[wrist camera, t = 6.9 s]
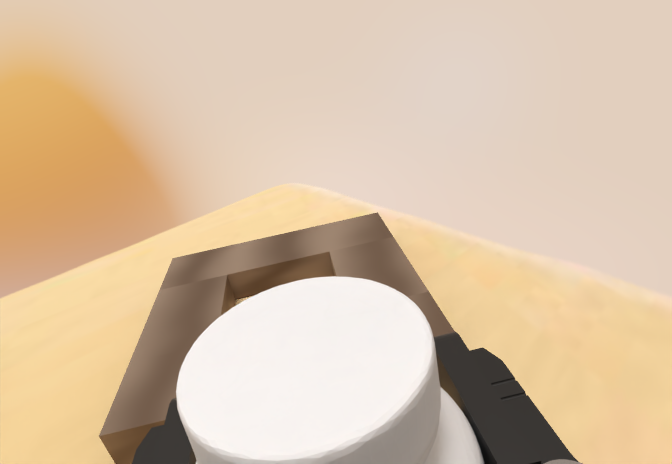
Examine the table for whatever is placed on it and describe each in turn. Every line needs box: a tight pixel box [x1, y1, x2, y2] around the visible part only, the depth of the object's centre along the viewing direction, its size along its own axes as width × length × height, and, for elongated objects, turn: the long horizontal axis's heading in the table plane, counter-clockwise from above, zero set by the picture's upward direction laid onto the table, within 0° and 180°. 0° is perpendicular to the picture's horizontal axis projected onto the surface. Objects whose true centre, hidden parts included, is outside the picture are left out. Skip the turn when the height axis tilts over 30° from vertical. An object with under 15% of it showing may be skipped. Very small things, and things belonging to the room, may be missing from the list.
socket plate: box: [99, 213, 455, 464], centre depth 26 cm, size 16×16×2 cm
